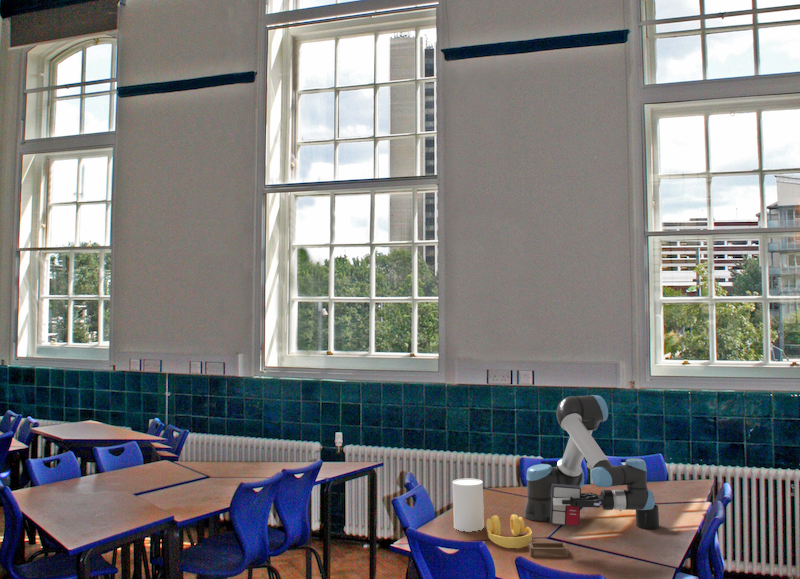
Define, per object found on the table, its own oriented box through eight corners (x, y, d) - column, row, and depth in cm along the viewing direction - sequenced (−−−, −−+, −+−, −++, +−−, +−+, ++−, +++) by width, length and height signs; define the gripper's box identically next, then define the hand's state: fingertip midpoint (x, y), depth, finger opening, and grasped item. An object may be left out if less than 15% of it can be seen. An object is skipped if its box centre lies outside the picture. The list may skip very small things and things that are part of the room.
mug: (634, 529, 280) (633, 508, 280) (637, 522, 291) (636, 501, 291) (658, 532, 276) (657, 510, 277) (659, 524, 287) (658, 503, 287)
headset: (494, 550, 258) (493, 526, 259) (482, 535, 279) (482, 513, 280) (537, 548, 260) (537, 524, 261) (522, 533, 281) (522, 511, 282)
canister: (487, 530, 284) (486, 484, 285) (458, 532, 281) (456, 486, 283) (479, 521, 297) (477, 477, 298) (450, 523, 295) (449, 479, 296)
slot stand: (528, 549, 257) (528, 542, 258) (565, 550, 256) (565, 542, 257) (531, 556, 250) (530, 548, 250) (568, 556, 249) (568, 548, 249)
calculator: (551, 524, 254) (553, 486, 255) (549, 521, 258) (551, 483, 259) (579, 527, 253) (581, 488, 254) (577, 523, 257) (579, 485, 258)
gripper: (618, 515, 246) (556, 515, 248) (607, 503, 263) (549, 504, 264) (617, 495, 246) (555, 495, 248) (606, 485, 263) (548, 485, 265)
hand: (552, 500), depth 256 cm, fingers closed on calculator, 4 cm apart
